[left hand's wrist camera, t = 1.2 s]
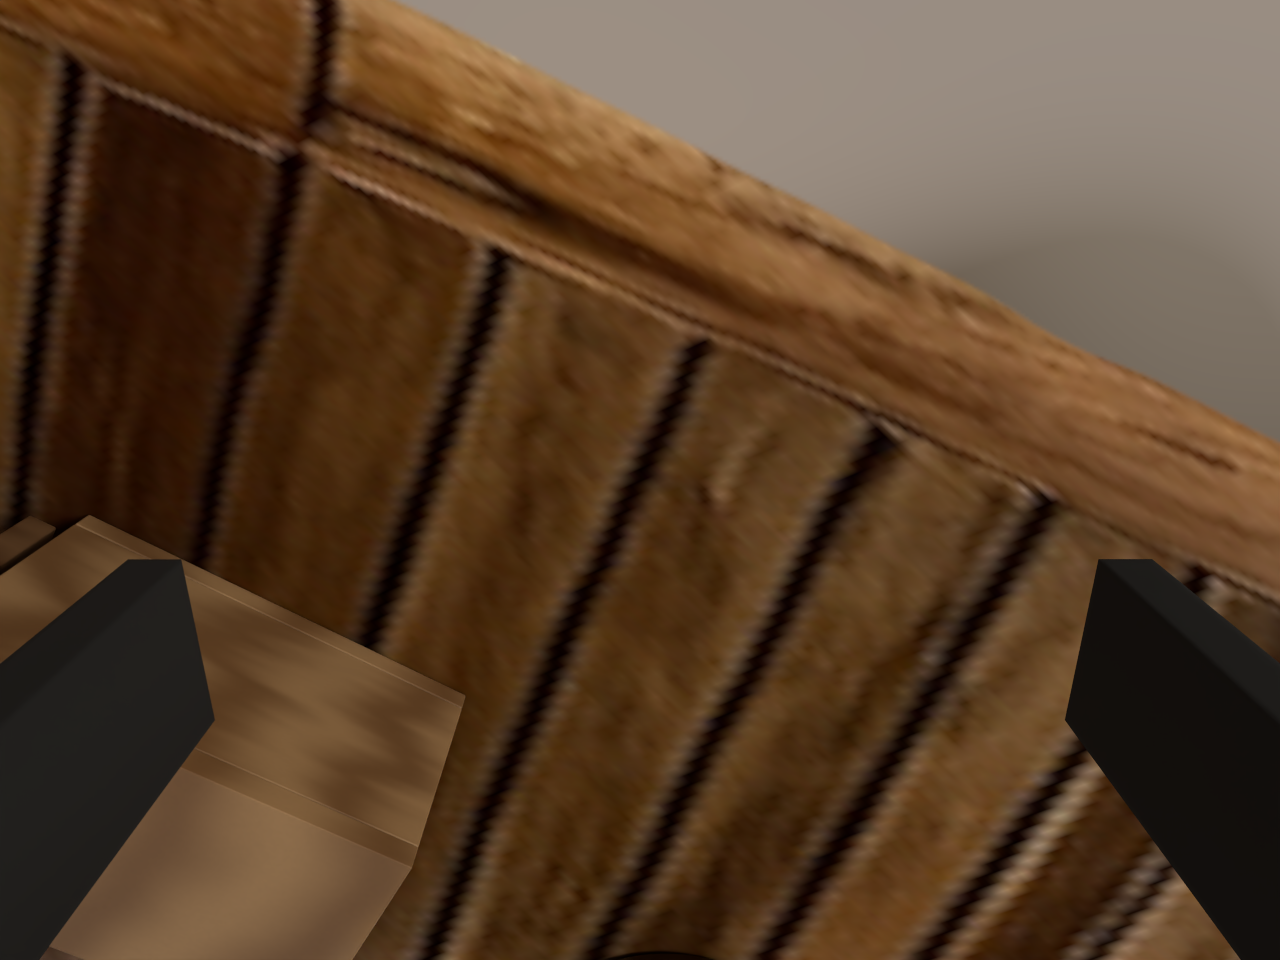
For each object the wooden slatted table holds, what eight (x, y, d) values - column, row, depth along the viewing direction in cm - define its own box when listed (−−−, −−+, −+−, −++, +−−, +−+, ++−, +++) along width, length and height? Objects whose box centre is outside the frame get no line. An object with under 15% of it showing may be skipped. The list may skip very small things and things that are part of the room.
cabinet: (19, 689, 43) (-174, 862, 33) (88, 513, 39) (-103, 645, 29) (373, 844, 46) (298, 1042, 36) (466, 694, 43) (412, 868, 33)
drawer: (-154, 623, 40) (-357, 748, 32) (-103, 451, 37) (-313, 541, 29) (315, 826, 44) (242, 982, 36) (396, 688, 41) (336, 824, 33)
